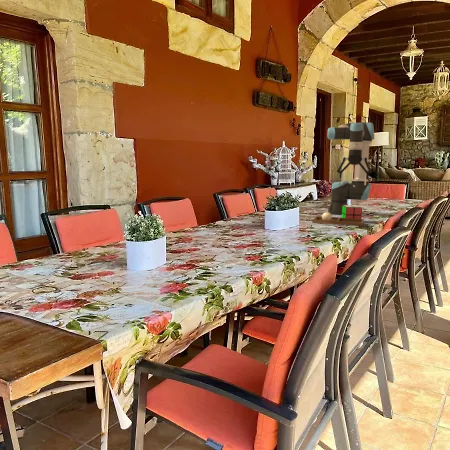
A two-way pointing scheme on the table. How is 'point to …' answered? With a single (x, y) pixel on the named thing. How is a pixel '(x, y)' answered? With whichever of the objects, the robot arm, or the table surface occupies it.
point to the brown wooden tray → (340, 221)
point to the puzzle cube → (351, 211)
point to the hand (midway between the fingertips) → (353, 184)
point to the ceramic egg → (326, 216)
